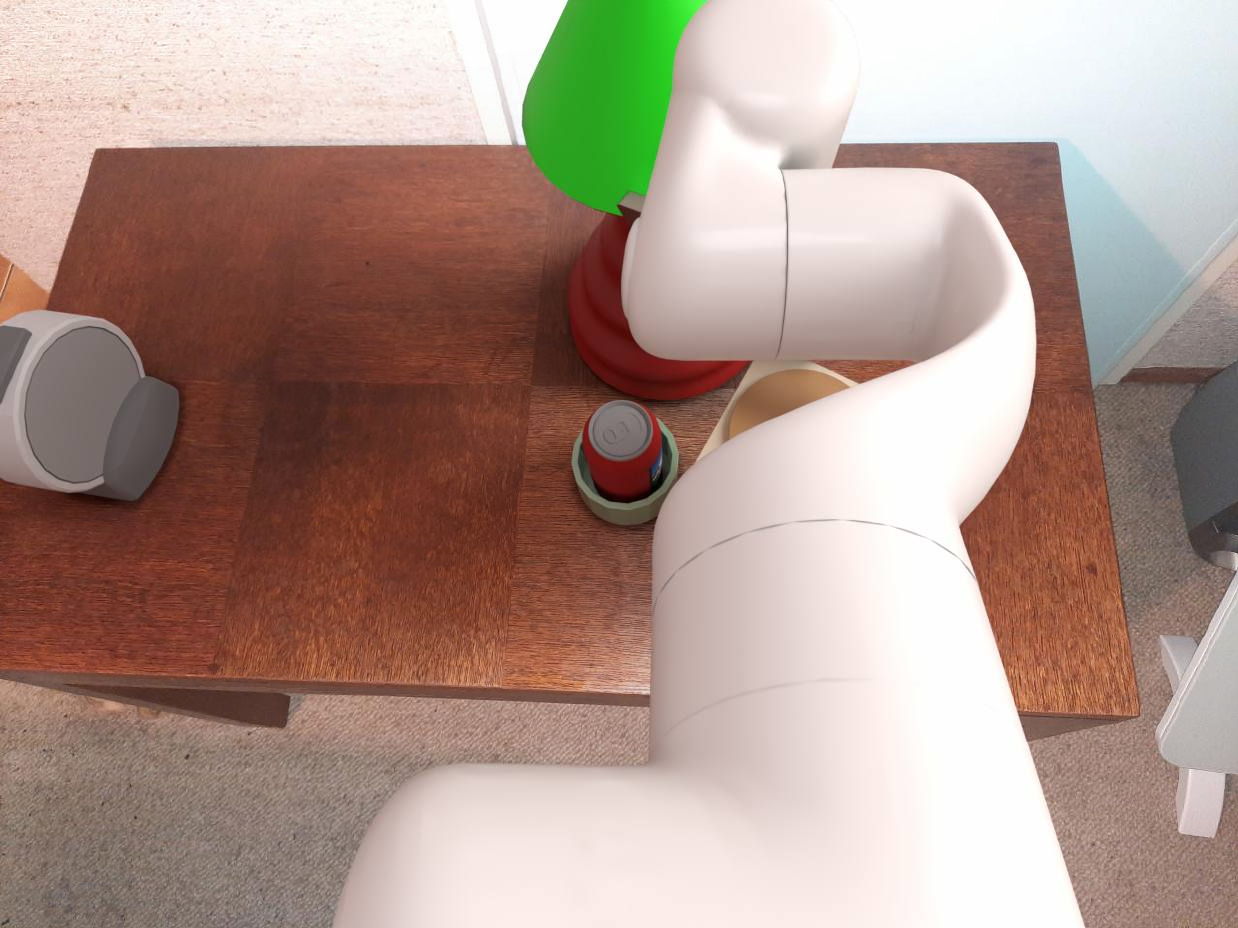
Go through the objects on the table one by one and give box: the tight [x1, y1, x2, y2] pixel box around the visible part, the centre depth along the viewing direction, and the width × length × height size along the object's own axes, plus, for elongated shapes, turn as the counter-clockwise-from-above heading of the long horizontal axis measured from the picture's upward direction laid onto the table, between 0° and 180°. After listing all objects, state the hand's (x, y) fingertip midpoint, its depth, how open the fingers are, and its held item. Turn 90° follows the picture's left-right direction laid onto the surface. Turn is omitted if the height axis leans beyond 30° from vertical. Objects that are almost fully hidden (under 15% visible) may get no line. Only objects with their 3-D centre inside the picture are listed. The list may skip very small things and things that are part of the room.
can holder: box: [570, 417, 680, 526], centre depth 80 cm, size 10×10×6 cm
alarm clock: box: [0, 309, 180, 502], centre depth 78 cm, size 16×10×18 cm, turn 170°
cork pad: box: [729, 369, 850, 440], centre depth 53 cm, size 9×9×1 cm
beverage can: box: [582, 399, 662, 504], centre depth 76 cm, size 7×7×12 cm
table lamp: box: [521, 0, 750, 401], centre depth 67 cm, size 20×20×45 cm
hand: (724, 317), depth 62 cm, fingers open, 9 cm apart
